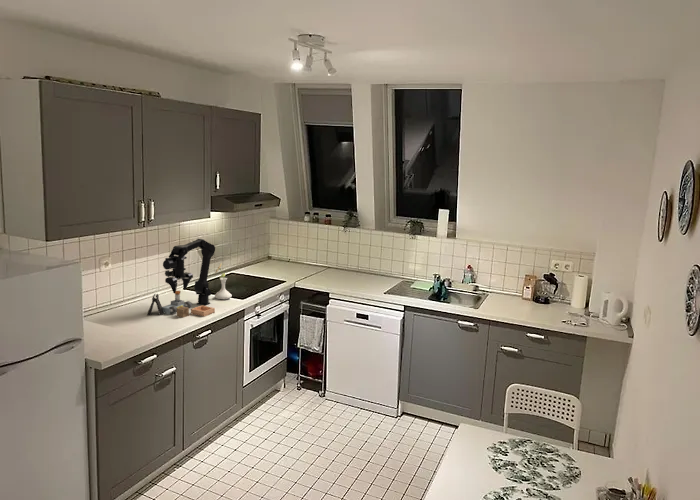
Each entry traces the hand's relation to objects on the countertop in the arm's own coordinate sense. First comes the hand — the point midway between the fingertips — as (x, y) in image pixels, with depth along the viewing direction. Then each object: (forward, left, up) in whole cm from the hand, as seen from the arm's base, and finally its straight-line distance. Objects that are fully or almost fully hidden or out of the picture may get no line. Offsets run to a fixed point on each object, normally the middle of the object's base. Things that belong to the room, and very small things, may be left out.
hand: (179, 291), depth 335 cm
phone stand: (+12, -8, -13) cm, 19 cm away
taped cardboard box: (+6, +8, -13) cm, 16 cm away
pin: (-2, -3, -9) cm, 10 cm away
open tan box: (-5, +14, -13) cm, 19 cm away
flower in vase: (-38, +3, -13) cm, 40 cm away
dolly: (0, -2, -13) cm, 13 cm away
